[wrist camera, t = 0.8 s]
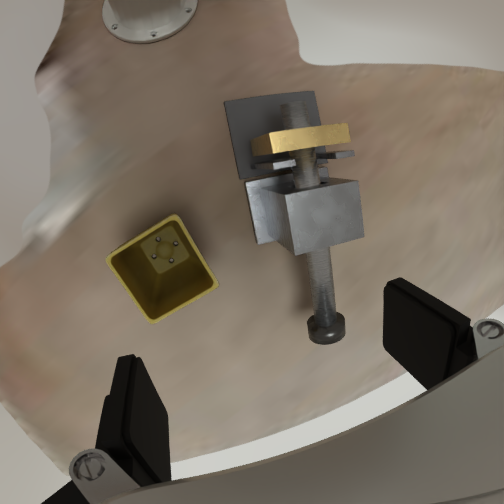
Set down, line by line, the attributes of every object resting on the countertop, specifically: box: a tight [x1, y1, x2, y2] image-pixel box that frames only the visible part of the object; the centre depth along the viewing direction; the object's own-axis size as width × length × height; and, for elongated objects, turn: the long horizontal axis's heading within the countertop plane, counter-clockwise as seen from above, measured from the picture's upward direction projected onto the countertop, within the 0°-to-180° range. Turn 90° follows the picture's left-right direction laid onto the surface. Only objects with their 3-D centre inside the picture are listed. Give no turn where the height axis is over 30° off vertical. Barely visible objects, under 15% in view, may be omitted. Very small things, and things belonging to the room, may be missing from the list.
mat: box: [224, 91, 328, 179], centre depth 38 cm, size 10×12×1 cm
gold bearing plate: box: [250, 123, 351, 156], centre depth 33 cm, size 2×8×8 cm, turn 101°
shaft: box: [280, 101, 345, 345], centre depth 35 cm, size 28×5×5 cm, turn 11°
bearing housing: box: [244, 167, 364, 256], centre depth 36 cm, size 8×11×11 cm
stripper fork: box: [250, 150, 355, 170], centre depth 34 cm, size 1×9×10 cm, turn 101°
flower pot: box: [106, 214, 219, 324], centre depth 35 cm, size 9×9×9 cm
